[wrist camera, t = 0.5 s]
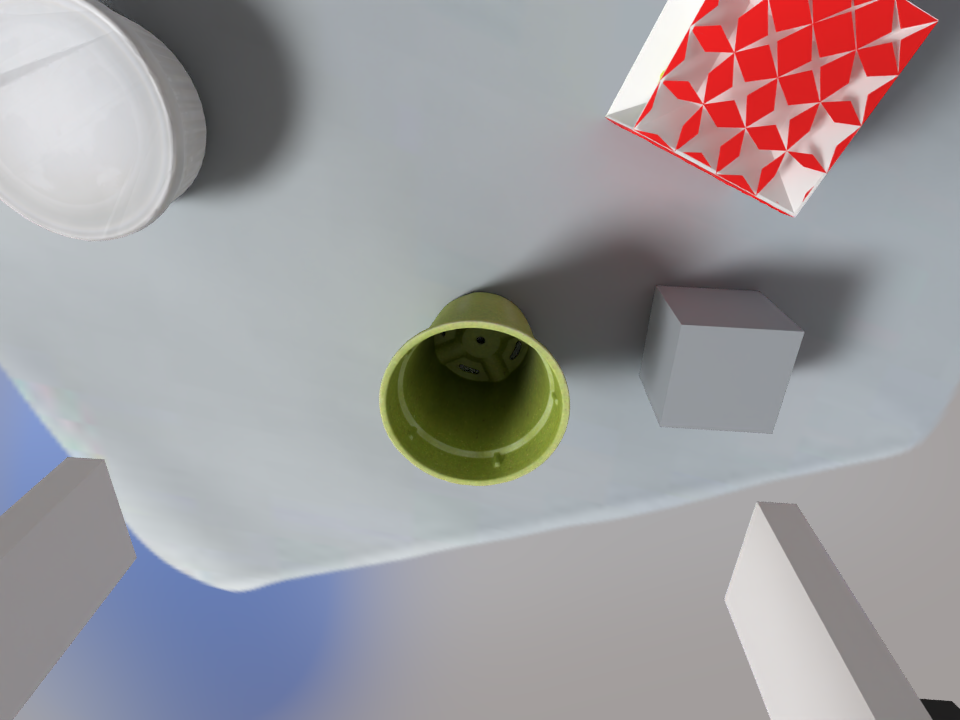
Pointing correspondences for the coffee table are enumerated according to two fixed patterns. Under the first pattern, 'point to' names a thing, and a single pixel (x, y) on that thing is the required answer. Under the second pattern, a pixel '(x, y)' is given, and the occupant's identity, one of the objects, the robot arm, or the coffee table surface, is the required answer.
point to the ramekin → (92, 119)
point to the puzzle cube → (766, 86)
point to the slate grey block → (717, 359)
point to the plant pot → (475, 395)
